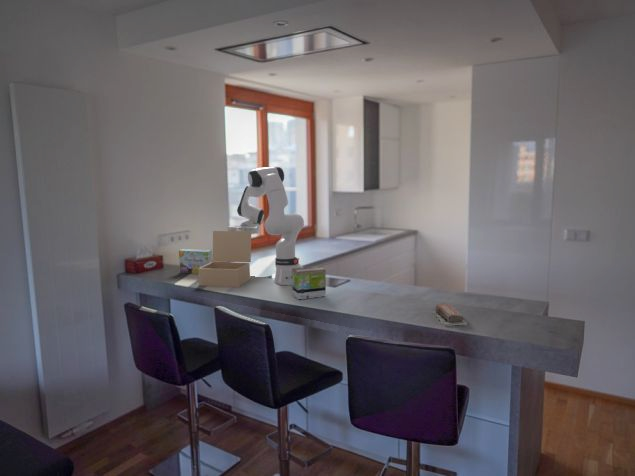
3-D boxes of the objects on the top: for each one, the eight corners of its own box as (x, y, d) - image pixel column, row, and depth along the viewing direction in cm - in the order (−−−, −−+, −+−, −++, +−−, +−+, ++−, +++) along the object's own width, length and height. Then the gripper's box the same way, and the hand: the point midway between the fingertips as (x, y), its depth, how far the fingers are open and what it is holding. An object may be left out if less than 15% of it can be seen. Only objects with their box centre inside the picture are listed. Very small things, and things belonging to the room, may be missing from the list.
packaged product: (431, 303, 210) (453, 302, 210) (431, 313, 211) (452, 313, 211) (444, 316, 192) (468, 315, 193) (444, 327, 193) (468, 326, 193)
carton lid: (250, 262, 278) (250, 262, 279) (250, 231, 279) (251, 231, 280) (212, 261, 284) (213, 261, 285) (213, 230, 284) (213, 230, 285)
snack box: (179, 273, 300) (178, 250, 298) (184, 271, 306) (183, 248, 303) (209, 274, 294) (207, 251, 292) (213, 272, 299) (212, 249, 297)
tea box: (298, 300, 234) (297, 271, 232) (292, 295, 243) (291, 267, 241) (326, 297, 239) (325, 268, 237) (319, 292, 249) (318, 265, 246)
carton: (250, 279, 280) (249, 263, 278) (238, 287, 262) (237, 269, 261) (213, 277, 285) (212, 261, 284) (199, 285, 268) (198, 268, 266)
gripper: (231, 222, 307) (222, 225, 294) (261, 223, 302) (253, 226, 289) (232, 232, 308) (223, 235, 295) (261, 233, 303) (253, 236, 290)
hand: (238, 231), depth 292 cm, fingers closed
